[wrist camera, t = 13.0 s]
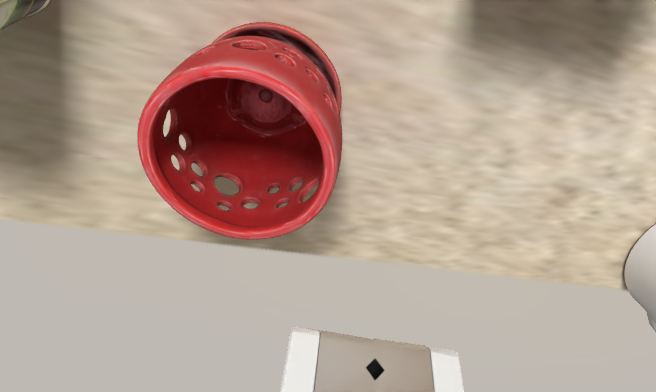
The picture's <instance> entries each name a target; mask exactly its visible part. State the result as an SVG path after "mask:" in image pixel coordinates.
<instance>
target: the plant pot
mask: <svg viewBox="0 0 656 392" xmlns="http://www.w3.org/2000/svg"><path fill="white" fill-rule="evenodd" d="M340 108H341V87H340V82H339V78H338V75H337V73H336V70H335V68H334V66H333V64H332V63H331V61H330V59H329V58H328V57H327V55H326V54H325V53H324V51H323V50H322V49H321V48H320V47H319V46H318V45H317V44H316V43H315V42H314V41H312V40H311V39H310V38H308V37H307V36H305V35H304V34H302V33H300V32H299V31H297V30H295V29H292V28H290V27H287V26H284V25H280V24H276V23H269V22H257V23H249V24H245V25H241V26H238V27H235V28H233V29H231V30H229V31H227V32H225V33H224V34H222V35H221V36H220V37H218V38H217V39H216V40H215V41H214V42H213V43H212V44H211V45H209V46H207V47H205V48H203V49H201V50H200V51H198V52H196V53H194V54H193V55H191V56H190V57H189V58H187V59H186V60H185V61H184V62H182V63H181V64H180V65H179V66H178V67H177V68H176V69H175V70H174V71H172V72H171V73H170V74H169V75H168V76H167V77H166V78H165V79H164V81H163V82H162V83H161V84H160V85H159V86H158V87H157V89H156V90H155V91H154V92H153V93H152V95H151V96H150V98H149V99H148V101H147V103H146V104H145V107H144V109H143V111H142V113H141V117H140V120H139V125H138V136H137V137H138V149H139V155H140V159H141V162H142V165H143V168H144V170H145V172H146V174H147V177H148V178H149V180H150V182H151V183H152V185H153V186H154V188H155V189H156V191H157V192H158V193H159V194H160V195H161V196H162V198H163V199H164V200H165V201H166V202H167V203H168V204H169V205H170V206H171V207H172V208H173V209H174V210H176V211H177V212H178V213H179V214H181V215H182V216H183V217H185V218H186V219H188V220H189V221H191V222H193V223H195V224H197V225H199V226H200V227H202V228H204V229H207V230H209V231H212V232H215V233H218V234H221V235H224V236H228V237H233V238H239V239H266V238H273V237H277V236H281V235H284V234H288V233H290V232H292V231H295V230H297V229H299V228H300V227H302V226H304V225H305V224H307V223H308V222H310V221H311V220H312V219H313V218H314V217H315V216H316V215H317V214H318V213H319V212H320V211H321V210H322V209H323V207H324V206H325V205H326V203H327V201H328V200H329V198H330V196H331V193H332V191H333V188H334V185H335V182H336V179H337V175H338V171H339V166H340V160H341V150H342V126H341V119H340ZM168 110H170V114H171V124H170V129H169V132H168V134H167V136H166V137H164V134H163V125H164V121H165V119H166V114H167V112H168ZM180 134H181V135H183V137H184V138H185V141H186V149H185V151H184V150H183V149H182V148H181V146H180V144H179V136H180ZM172 155H174V156H175V157H176V158H177V159H178V162H179V167H180V168H179V170H177V169H176V168H175V167H174V166H173V164H172V161H171V156H172ZM192 163H195V164H197V165H198V166H199V167H200V168H201V169H202V172H203V176H202V177H201V176H199V175H197V174H196V173H195V172H194V171H193V170H192V168H191V164H192ZM217 177H226V178H229V179H231V180H232V181H234V182H235V183H236V184H237V186H238V187H239V192H238V193H237V194H235V195H226V194H223V193H221V192H220V191H218V190H217V189H216V187H215V185H214V180H215V178H217ZM299 182H303V184H302V186H301V187H300V188H299V189H297V190H295V191H291V189H292V188H293V187H294V186H295V185H296V184H297V183H299ZM191 184H194V185H196V186H197V187H198V188H199V189H200V192H198V191H196V190H194V189H193V187H192V186H191ZM318 184H319V186H318V189H317V190H316V192H315V193H314V194H313V195H312V196H311V197H310V198H309V199H308V200H306V201H305V202H302V201H303V199H304V197H305V196H306V195H307V193H308V192H309V191H310V190H311V189H313V188H314V187H315V186H316V185H318ZM274 187H278V188H280V189H279V191H278V192H277V193H269V191H270V190H271V189H272V188H274ZM287 202H288V204H287V205H286V206H284V207H281V208H278V207H279V206H280V205H281V204H283V203H287ZM246 203H257V204H259V205H258V206H257V207H256V208H254V209H248V208H245V207H243V205H245V204H246ZM219 205H224V206H226V207H228V208H229V209H230V210H228V211H225V210H222V209H220V208H219V207H218V206H219Z"/></svg>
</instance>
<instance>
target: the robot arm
mask: <svg viewBox="0 0 656 392" xmlns="http://www.w3.org/2000/svg"><path fill="white" fill-rule="evenodd" d="M624 276H625V283H626V286H627V289H628V291H629V292H630V294H631V295H632V297H633V298H634V299H635V300H636V301H637V302H638V303H639V304H640V305H641V306H642V307H643V308H644V309H645V310H646V311H647V315H648V319H649V322H650V324H651V326H652V327H653V329H654V330H655V331H656V224H655V225H654V226H653V227H651V228H650V229H649V230H648V231H647V232H646V233H645V234H644V235H643V236H642V237H641V238H640V239H639V240H638V242H637V243H636V244H635V246H634V247H633V249H632V250H631V252H630V254H629V256H628V259H627V262H626V266H625V274H624ZM280 392H465V390H464V384H463V378H462V372H461V366H460V360H459V355H458V354H457V352H456V351H455V350H449V349H442V348H435V347H426V346H424V345H416V344H408V343H402V342H394V341H387V340H379V339H367V338H362V337H356V336H350V335H344V334H338V333H333V332H327V331H321V332H320V331H319V330H313V329H307V328H301V327H295V326H293V327H292V330H291V333H290V339H289V345H288V350H287V356H286V362H285V367H284V373H283V379H282V385H281V390H280Z"/></svg>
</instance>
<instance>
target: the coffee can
mask: <svg viewBox="0 0 656 392" xmlns="http://www.w3.org/2000/svg"><path fill="white" fill-rule="evenodd" d="M50 1H51V0H0V30H1V29H3V28H5V27H7V26H9V25H11V24H13V23H14V22H16V21H18V20H21V19H23V18H25V17H28V16H31V15H33V14H36V13H37V12H39V11H41V10H42V9H43V8H45V7H46V6H47V5H48V3H49V2H50Z"/></svg>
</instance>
